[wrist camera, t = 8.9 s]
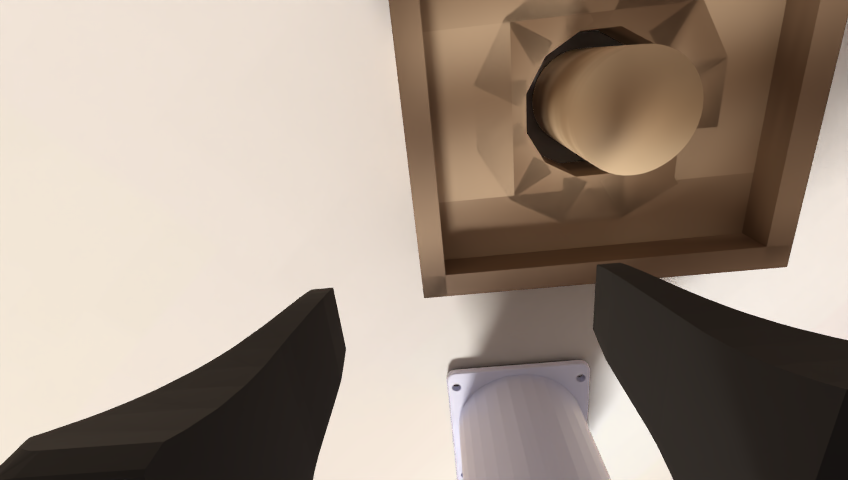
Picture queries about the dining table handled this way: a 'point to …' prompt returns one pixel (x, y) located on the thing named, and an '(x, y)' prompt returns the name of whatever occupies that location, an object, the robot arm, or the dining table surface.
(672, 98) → the oak dowel
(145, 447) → the robot arm
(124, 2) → the dining table surface
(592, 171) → the walnut box
